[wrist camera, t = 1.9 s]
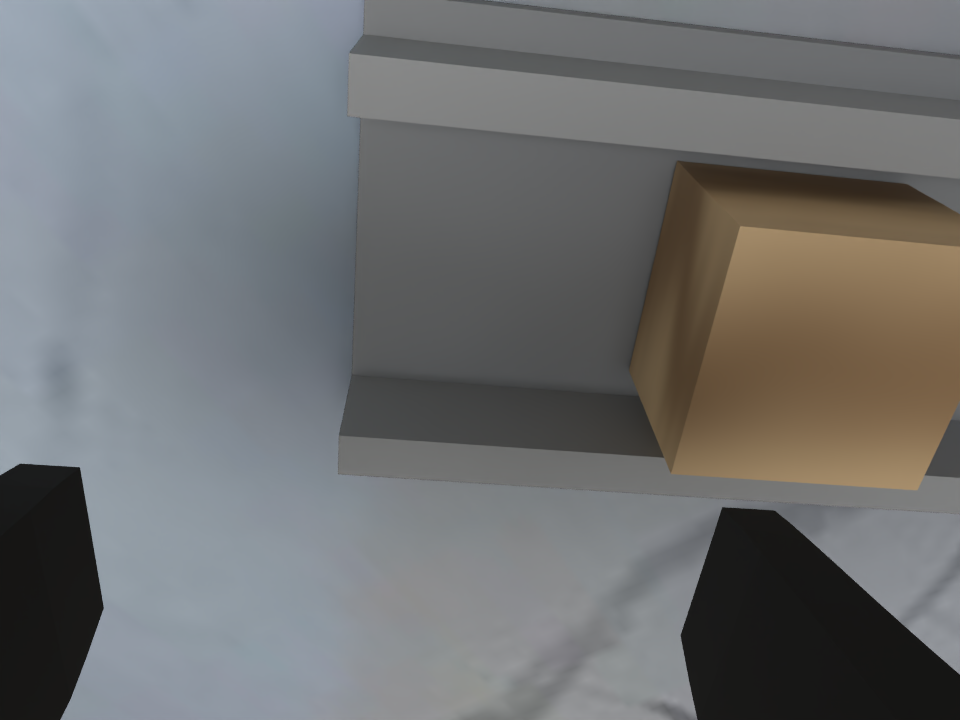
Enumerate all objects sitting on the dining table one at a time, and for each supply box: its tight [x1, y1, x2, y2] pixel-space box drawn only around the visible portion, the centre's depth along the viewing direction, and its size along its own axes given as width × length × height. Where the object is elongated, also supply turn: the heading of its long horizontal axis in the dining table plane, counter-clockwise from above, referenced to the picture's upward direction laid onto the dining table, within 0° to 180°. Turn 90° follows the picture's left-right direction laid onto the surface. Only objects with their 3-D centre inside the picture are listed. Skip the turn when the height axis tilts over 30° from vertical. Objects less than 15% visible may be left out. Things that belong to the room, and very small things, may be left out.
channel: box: [338, 0, 960, 514], centre depth 17 cm, size 10×24×4 cm, turn 84°
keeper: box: [629, 161, 960, 490], centre depth 16 cm, size 5×5×4 cm
